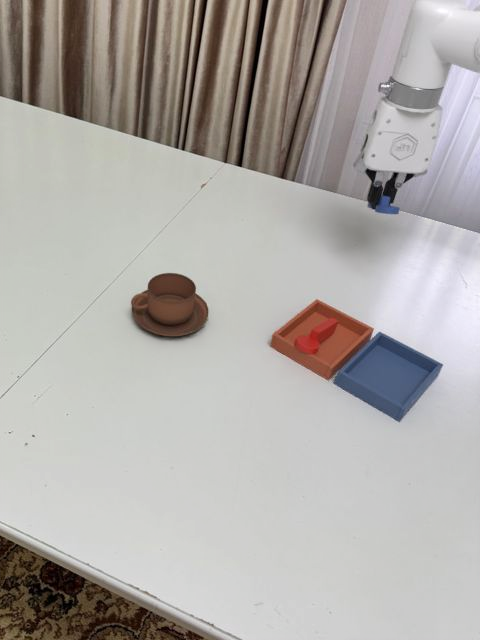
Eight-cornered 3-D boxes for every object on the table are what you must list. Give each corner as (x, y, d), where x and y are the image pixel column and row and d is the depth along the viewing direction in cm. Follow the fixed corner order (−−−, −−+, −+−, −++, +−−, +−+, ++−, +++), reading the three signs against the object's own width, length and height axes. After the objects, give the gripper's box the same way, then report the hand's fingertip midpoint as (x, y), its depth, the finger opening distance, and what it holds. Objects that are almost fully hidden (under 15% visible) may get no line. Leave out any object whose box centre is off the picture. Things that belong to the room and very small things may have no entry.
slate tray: (437, 376, 92) (443, 364, 90) (399, 422, 85) (405, 409, 83) (374, 343, 97) (379, 331, 95) (333, 383, 90) (337, 371, 88)
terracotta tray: (369, 340, 97) (374, 328, 96) (328, 380, 90) (332, 368, 88) (313, 310, 102) (316, 298, 100) (269, 346, 95) (272, 334, 93)
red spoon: (310, 356, 89) (316, 343, 88) (289, 345, 91) (295, 331, 90) (340, 337, 97) (345, 324, 95) (320, 326, 98) (325, 313, 97)
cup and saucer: (156, 352, 92) (158, 320, 88) (118, 308, 99) (118, 276, 95) (222, 328, 97) (226, 297, 93) (181, 287, 104) (183, 257, 100)
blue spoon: (401, 214, 97) (404, 199, 97) (379, 213, 97) (381, 197, 97) (381, 208, 107) (383, 193, 106) (360, 206, 107) (362, 192, 106)
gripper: (366, 98, 88) (335, 214, 100) (474, 107, 88) (430, 220, 101) (356, 80, 94) (328, 191, 106) (457, 88, 94) (418, 198, 106)
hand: (378, 205), depth 103 cm, fingers closed on blue spoon, 1 cm apart
